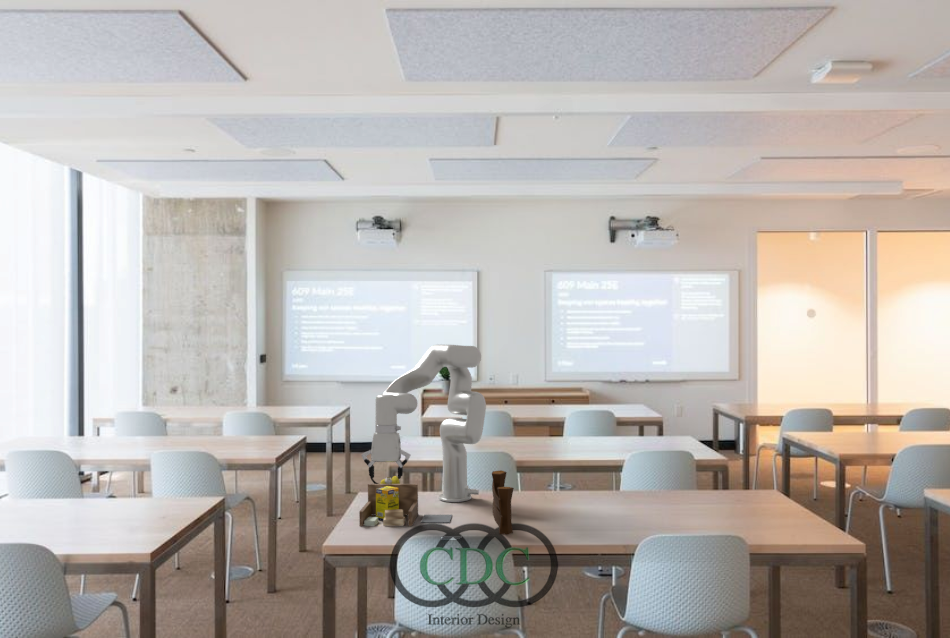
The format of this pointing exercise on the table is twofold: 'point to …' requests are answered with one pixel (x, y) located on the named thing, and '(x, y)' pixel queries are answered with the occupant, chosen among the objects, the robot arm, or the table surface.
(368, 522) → the offcut
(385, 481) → the toy
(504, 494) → the decorative fence
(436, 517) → the pad
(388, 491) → the supplement box
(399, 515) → the offcut
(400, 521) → the offcut
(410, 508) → the rack
